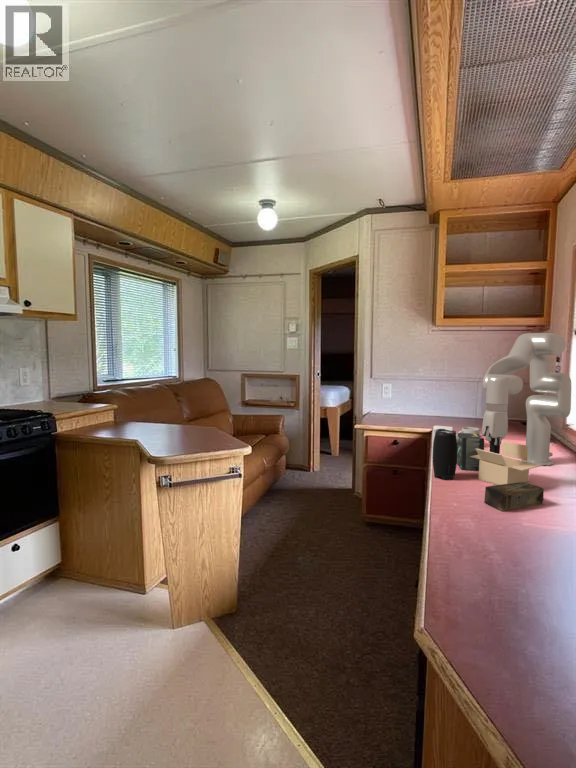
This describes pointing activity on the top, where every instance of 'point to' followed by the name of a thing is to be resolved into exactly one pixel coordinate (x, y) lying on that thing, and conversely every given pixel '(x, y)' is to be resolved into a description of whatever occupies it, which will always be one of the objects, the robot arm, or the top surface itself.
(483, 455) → the flap
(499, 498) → the beverage carton
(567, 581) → the top surface
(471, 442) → the tampon box
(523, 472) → the carton
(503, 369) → the robot arm
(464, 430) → the mug
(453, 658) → the top surface
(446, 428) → the supplement box
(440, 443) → the portable speaker
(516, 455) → the flap
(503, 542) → the top surface
